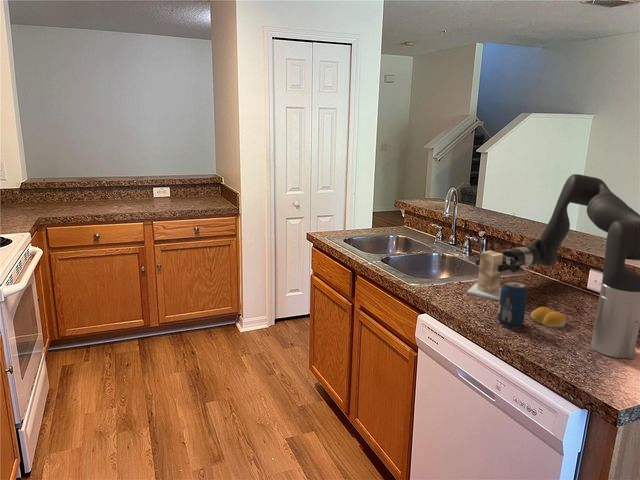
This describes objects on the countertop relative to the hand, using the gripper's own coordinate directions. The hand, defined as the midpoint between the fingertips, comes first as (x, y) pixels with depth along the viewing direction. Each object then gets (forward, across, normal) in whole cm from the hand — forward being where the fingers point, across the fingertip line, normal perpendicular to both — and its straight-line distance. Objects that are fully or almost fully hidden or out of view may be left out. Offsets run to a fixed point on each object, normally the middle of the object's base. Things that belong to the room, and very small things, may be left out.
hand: (487, 265), depth 157 cm
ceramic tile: (-2, 0, +10) cm, 10 cm away
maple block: (-2, 0, +9) cm, 9 cm away
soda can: (+15, +20, +10) cm, 27 cm away
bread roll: (+4, +25, +10) cm, 27 cm away
